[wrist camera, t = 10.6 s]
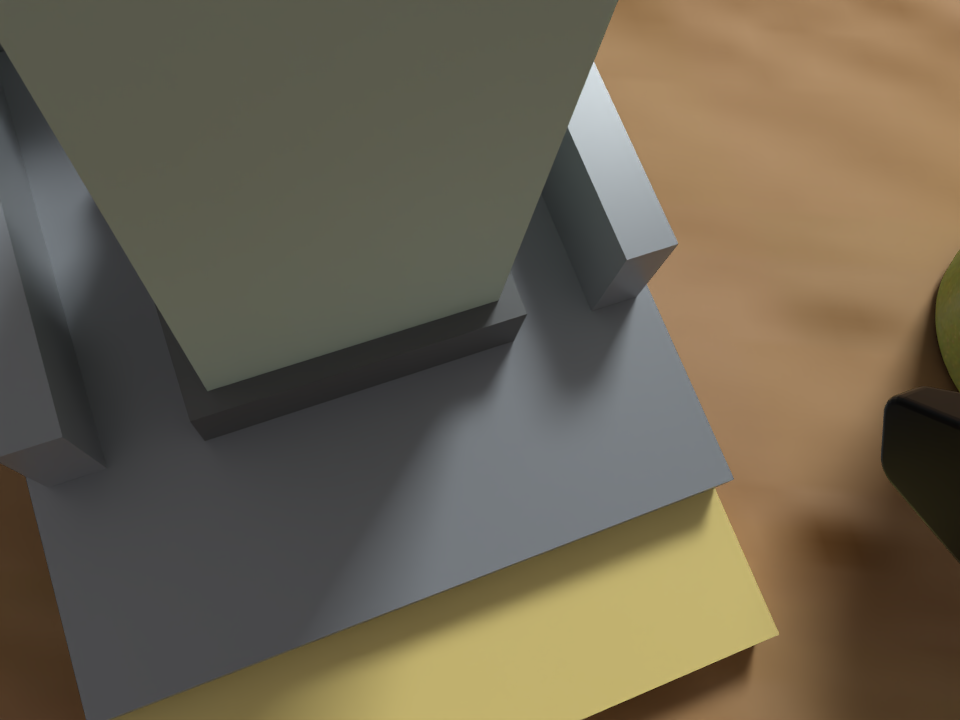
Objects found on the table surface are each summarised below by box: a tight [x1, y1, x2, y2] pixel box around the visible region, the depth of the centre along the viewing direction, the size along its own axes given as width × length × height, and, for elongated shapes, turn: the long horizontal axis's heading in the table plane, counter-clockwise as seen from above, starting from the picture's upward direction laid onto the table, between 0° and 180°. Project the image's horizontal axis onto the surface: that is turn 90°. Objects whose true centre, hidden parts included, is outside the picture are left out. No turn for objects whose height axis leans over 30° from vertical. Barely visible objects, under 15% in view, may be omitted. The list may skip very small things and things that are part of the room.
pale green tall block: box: [0, 0, 618, 441], centre depth 11 cm, size 6×6×14 cm
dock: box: [0, 44, 779, 720], centre depth 16 cm, size 17×12×6 cm
